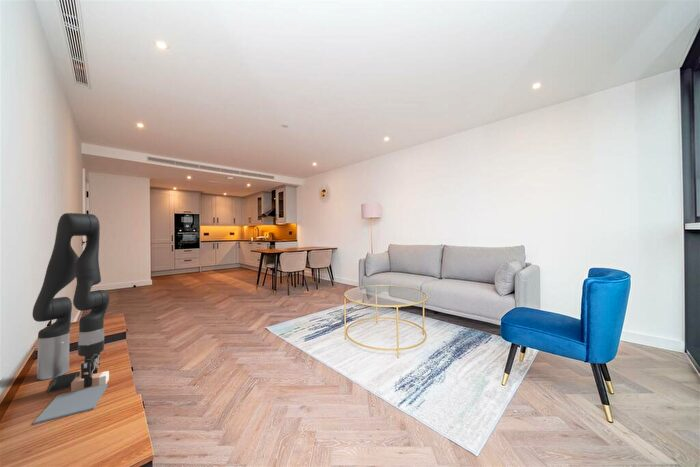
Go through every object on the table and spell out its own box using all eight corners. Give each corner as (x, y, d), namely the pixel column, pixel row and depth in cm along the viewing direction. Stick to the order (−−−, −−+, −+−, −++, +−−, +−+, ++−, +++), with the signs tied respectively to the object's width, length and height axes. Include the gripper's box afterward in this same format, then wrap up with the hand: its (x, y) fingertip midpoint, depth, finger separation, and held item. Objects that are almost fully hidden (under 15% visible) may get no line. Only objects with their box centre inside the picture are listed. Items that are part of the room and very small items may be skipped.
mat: (58, 396, 98) (58, 394, 98) (107, 385, 105) (107, 383, 105) (33, 424, 83) (33, 422, 83) (93, 409, 90) (93, 407, 90)
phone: (80, 370, 116) (76, 384, 105) (80, 373, 116) (76, 386, 105) (53, 377, 111) (47, 391, 100) (53, 380, 111) (46, 394, 100)
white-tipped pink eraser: (70, 392, 101) (71, 383, 101) (75, 386, 105) (75, 377, 105) (105, 384, 106) (105, 375, 106) (108, 379, 110) (109, 370, 110)
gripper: (84, 337, 110) (84, 377, 110) (71, 349, 98) (70, 394, 97) (108, 333, 114) (108, 373, 114) (98, 344, 102) (98, 388, 101)
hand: (90, 382), depth 106 cm, fingers open, 6 cm apart
